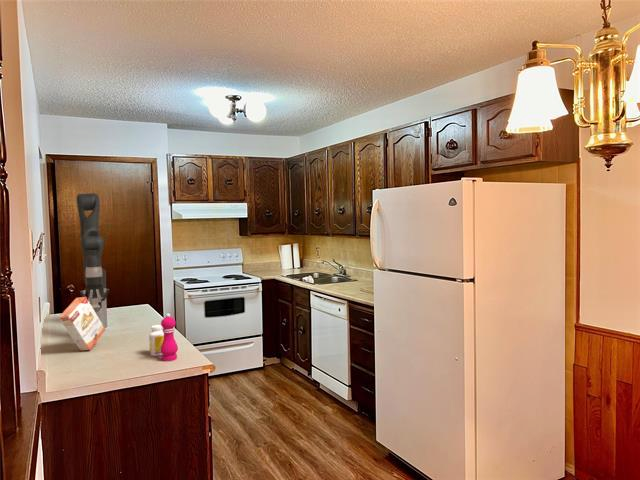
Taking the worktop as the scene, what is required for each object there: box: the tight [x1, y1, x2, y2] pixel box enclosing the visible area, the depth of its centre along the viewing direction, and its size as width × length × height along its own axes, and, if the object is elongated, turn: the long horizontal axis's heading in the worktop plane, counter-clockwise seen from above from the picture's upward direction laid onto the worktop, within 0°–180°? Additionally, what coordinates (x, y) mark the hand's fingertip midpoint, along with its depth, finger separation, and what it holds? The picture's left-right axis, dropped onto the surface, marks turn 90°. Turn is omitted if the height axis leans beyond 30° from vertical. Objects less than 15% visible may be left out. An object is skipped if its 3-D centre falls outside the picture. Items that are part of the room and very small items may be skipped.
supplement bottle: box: [148, 324, 164, 357], centre depth 213 cm, size 7×7×13 cm
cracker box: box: [58, 296, 106, 351], centre depth 221 cm, size 14×6×21 cm, turn 169°
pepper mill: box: [160, 313, 179, 362], centre depth 206 cm, size 7×7×20 cm
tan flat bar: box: [91, 303, 100, 312], centre depth 234 cm, size 18×5×3 cm, turn 24°
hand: (95, 309), depth 239 cm, fingers closed on tan flat bar, 3 cm apart
